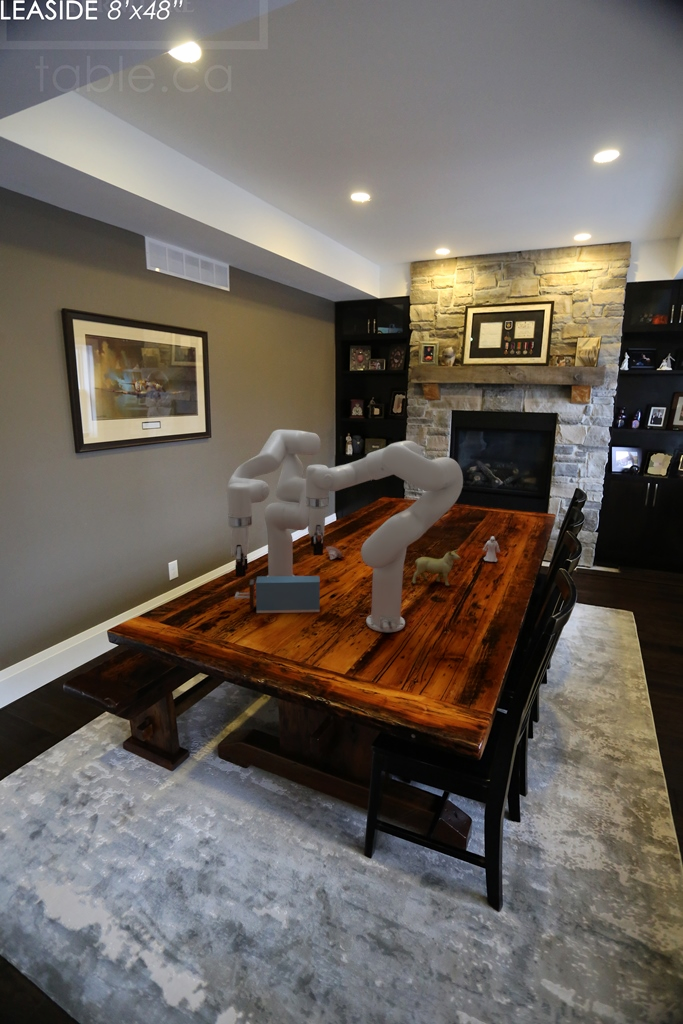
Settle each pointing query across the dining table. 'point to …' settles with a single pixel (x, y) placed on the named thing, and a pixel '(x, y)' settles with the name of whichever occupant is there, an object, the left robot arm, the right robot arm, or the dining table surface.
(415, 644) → the dining table surface
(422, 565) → the toy
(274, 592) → the blue slab
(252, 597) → the drawer
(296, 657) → the dining table surface
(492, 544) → the figurine
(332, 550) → the white lid
